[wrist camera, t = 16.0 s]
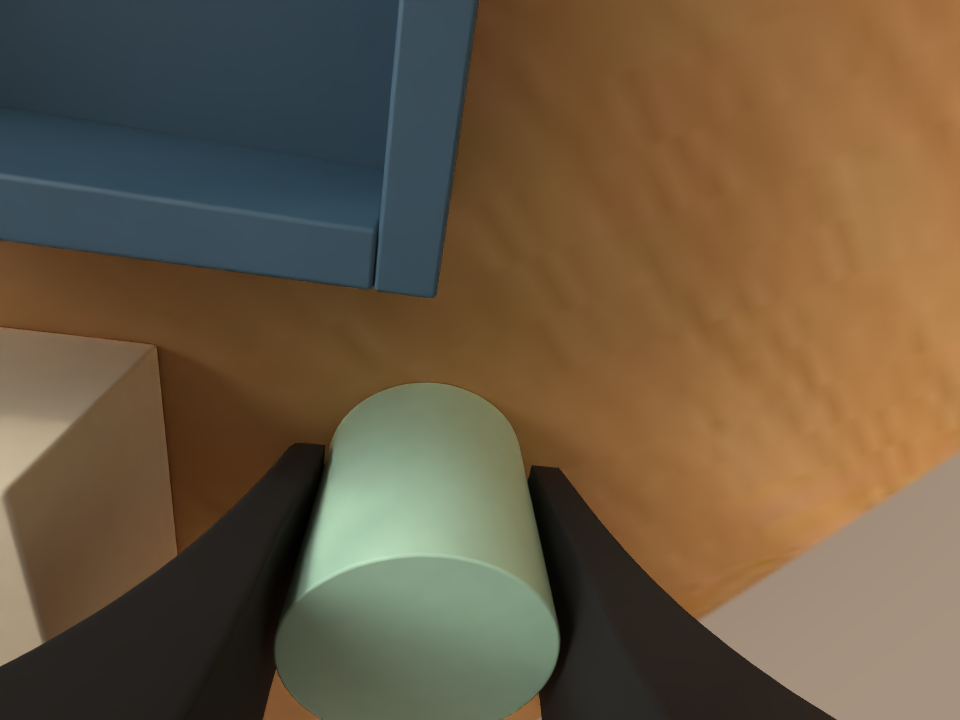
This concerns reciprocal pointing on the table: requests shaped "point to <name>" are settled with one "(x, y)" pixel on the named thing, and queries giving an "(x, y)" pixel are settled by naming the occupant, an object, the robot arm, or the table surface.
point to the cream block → (77, 480)
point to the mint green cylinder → (419, 568)
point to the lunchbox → (237, 133)
